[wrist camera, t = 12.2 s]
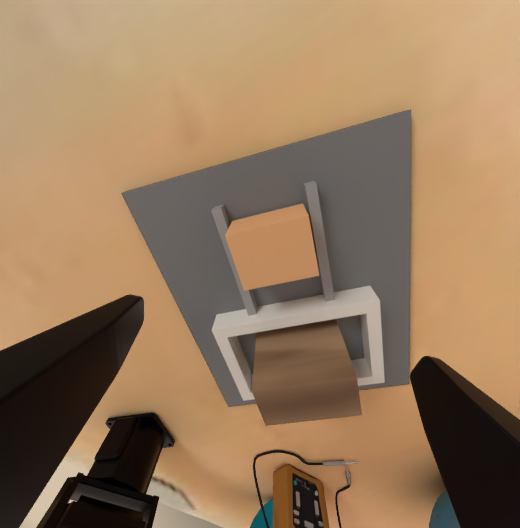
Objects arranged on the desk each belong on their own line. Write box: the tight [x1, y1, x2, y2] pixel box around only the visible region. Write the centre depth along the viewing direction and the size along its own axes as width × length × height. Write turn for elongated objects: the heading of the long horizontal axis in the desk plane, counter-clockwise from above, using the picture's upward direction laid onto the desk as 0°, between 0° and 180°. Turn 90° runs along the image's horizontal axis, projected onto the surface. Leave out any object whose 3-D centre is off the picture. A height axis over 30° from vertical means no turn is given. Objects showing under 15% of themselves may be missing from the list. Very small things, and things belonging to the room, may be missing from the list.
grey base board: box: [121, 110, 411, 407], centre depth 20 cm, size 24×19×2 cm
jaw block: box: [252, 319, 362, 426], centre depth 20 cm, size 4×7×6 cm, turn 105°
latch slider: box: [225, 203, 319, 291], centre depth 16 cm, size 4×5×3 cm
